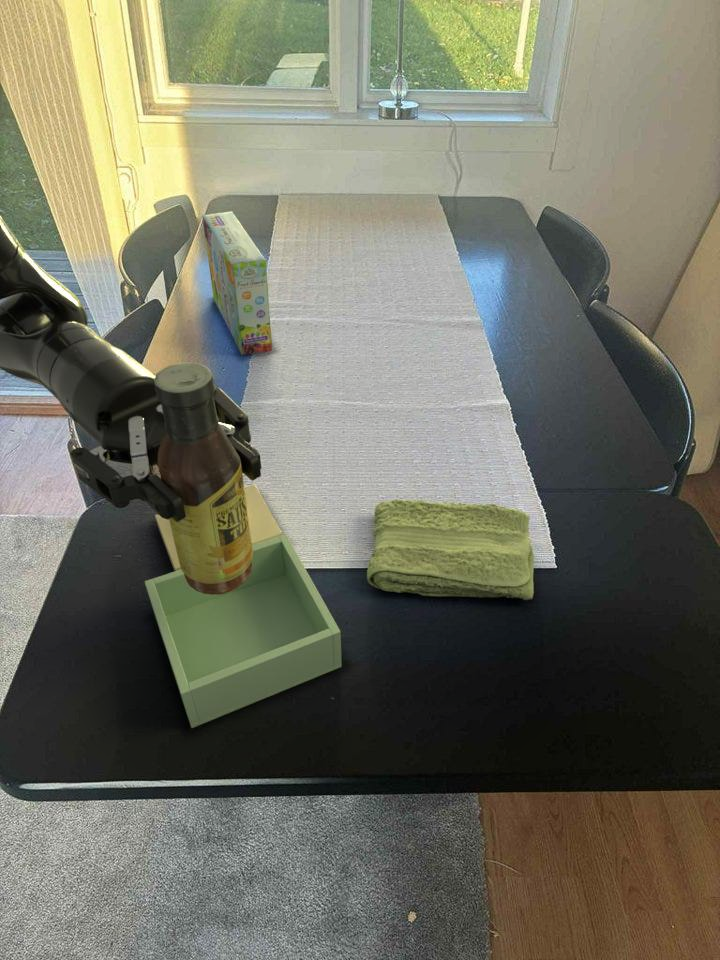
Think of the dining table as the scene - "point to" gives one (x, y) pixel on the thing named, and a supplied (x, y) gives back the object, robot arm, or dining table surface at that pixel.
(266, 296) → the snack box
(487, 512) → the washcloth
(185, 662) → the sage green tray
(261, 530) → the panel
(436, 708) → the dining table surface
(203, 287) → the dining table surface
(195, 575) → the sauce bottle
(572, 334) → the dining table surface
